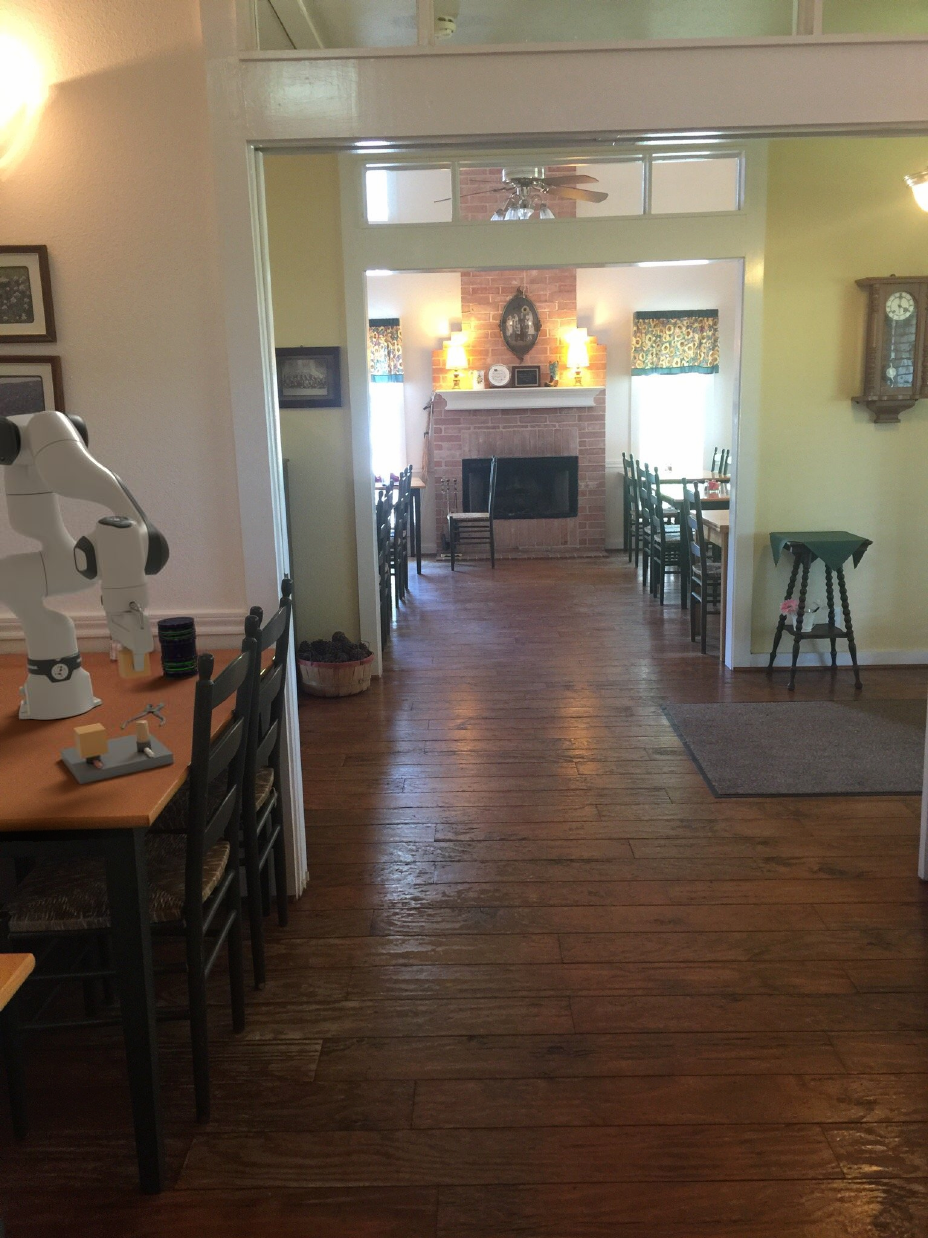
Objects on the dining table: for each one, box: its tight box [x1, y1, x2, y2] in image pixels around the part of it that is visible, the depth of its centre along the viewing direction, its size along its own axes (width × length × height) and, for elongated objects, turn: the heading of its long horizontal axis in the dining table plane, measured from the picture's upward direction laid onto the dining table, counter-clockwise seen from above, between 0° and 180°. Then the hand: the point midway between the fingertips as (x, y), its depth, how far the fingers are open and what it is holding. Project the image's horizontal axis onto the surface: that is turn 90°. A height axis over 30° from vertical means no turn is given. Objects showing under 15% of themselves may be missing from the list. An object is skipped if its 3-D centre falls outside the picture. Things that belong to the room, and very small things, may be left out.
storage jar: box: [156, 616, 199, 680], centre depth 266 cm, size 10×10×15 cm
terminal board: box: [60, 719, 174, 785], centre depth 200 cm, size 18×18×9 cm
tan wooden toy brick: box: [116, 649, 152, 681], centre depth 196 cm, size 5×5×5 cm
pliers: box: [121, 700, 167, 730], centre depth 230 cm, size 10×1×20 cm
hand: (134, 667), depth 196 cm, fingers closed on tan wooden toy brick, 5 cm apart
